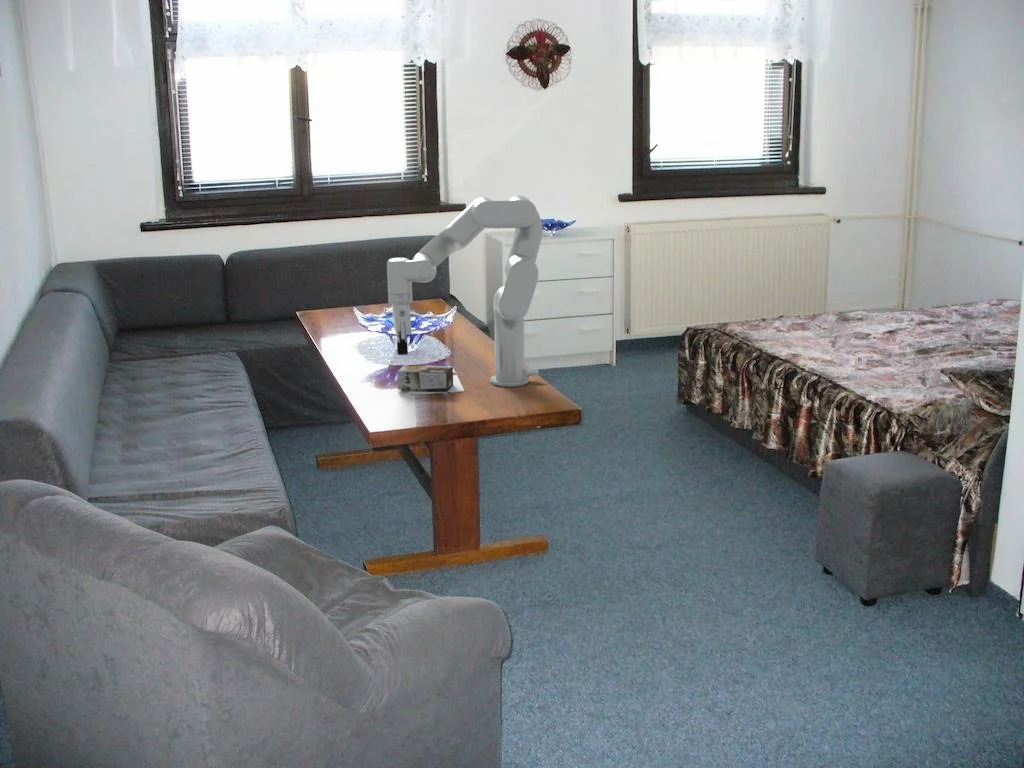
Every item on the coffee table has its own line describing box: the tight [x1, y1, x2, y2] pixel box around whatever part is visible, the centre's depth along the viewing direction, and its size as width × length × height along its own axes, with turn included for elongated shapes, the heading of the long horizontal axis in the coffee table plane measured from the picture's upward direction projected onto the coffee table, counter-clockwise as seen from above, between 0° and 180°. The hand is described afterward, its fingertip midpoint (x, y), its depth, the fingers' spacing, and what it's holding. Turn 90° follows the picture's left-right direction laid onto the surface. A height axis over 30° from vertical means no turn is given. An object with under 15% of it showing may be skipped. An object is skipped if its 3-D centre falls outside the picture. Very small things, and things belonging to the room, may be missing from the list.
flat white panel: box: [408, 374, 465, 395], centre depth 357 cm, size 17×18×1 cm
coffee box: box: [396, 364, 454, 392], centre depth 352 cm, size 9×6×16 cm
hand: (402, 354), depth 353 cm, fingers closed
